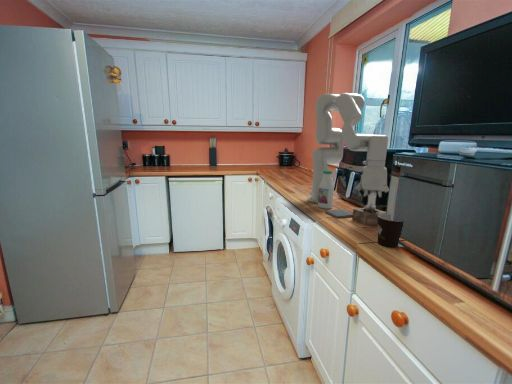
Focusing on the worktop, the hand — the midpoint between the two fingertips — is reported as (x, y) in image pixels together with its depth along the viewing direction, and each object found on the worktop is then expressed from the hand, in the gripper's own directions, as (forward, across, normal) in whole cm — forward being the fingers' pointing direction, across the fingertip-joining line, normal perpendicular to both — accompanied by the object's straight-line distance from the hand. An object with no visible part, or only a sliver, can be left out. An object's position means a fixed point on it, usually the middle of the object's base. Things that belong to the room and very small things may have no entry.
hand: (370, 204), depth 116 cm
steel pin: (+6, 0, 0) cm, 6 cm away
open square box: (+8, 0, 0) cm, 8 cm away
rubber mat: (+8, -11, +9) cm, 16 cm away
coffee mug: (+8, -1, -25) cm, 27 cm away
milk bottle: (+8, -16, +22) cm, 28 cm away
